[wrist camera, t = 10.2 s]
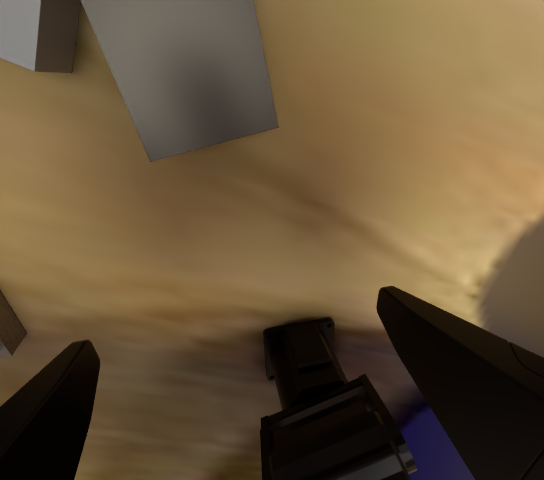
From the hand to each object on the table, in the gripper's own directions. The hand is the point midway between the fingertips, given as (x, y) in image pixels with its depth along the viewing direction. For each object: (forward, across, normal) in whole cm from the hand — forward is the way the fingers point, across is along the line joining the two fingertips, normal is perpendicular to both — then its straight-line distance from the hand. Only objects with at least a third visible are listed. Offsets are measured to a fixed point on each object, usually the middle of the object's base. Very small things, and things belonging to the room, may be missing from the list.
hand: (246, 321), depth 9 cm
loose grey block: (+12, +1, -8) cm, 15 cm away
